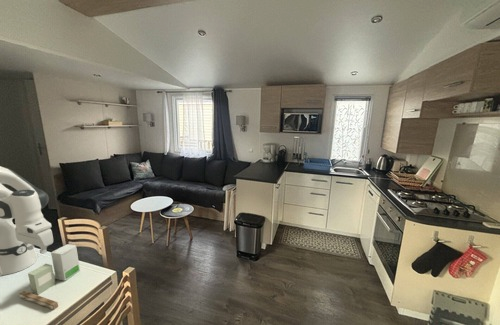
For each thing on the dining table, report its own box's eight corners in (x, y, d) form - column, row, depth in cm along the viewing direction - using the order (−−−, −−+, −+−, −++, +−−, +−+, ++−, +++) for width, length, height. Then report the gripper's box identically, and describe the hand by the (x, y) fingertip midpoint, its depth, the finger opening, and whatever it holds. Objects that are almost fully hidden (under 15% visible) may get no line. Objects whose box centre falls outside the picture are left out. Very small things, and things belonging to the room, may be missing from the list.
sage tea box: (38, 295, 96) (33, 275, 94) (32, 293, 97) (27, 273, 95) (55, 284, 102) (51, 265, 100) (49, 282, 103) (46, 263, 101)
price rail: (19, 298, 94) (18, 293, 93) (24, 295, 96) (23, 290, 95) (53, 310, 88) (52, 305, 88) (58, 306, 90) (57, 302, 90)
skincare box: (64, 281, 104) (59, 254, 101) (54, 279, 105) (49, 252, 102) (81, 270, 112) (76, 245, 109) (71, 268, 113) (67, 243, 110)
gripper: (7, 224, 93) (14, 251, 96) (36, 231, 87) (42, 259, 90) (25, 218, 99) (31, 243, 102) (53, 224, 93) (59, 251, 96)
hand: (37, 251), depth 96 cm, fingers open, 8 cm apart
